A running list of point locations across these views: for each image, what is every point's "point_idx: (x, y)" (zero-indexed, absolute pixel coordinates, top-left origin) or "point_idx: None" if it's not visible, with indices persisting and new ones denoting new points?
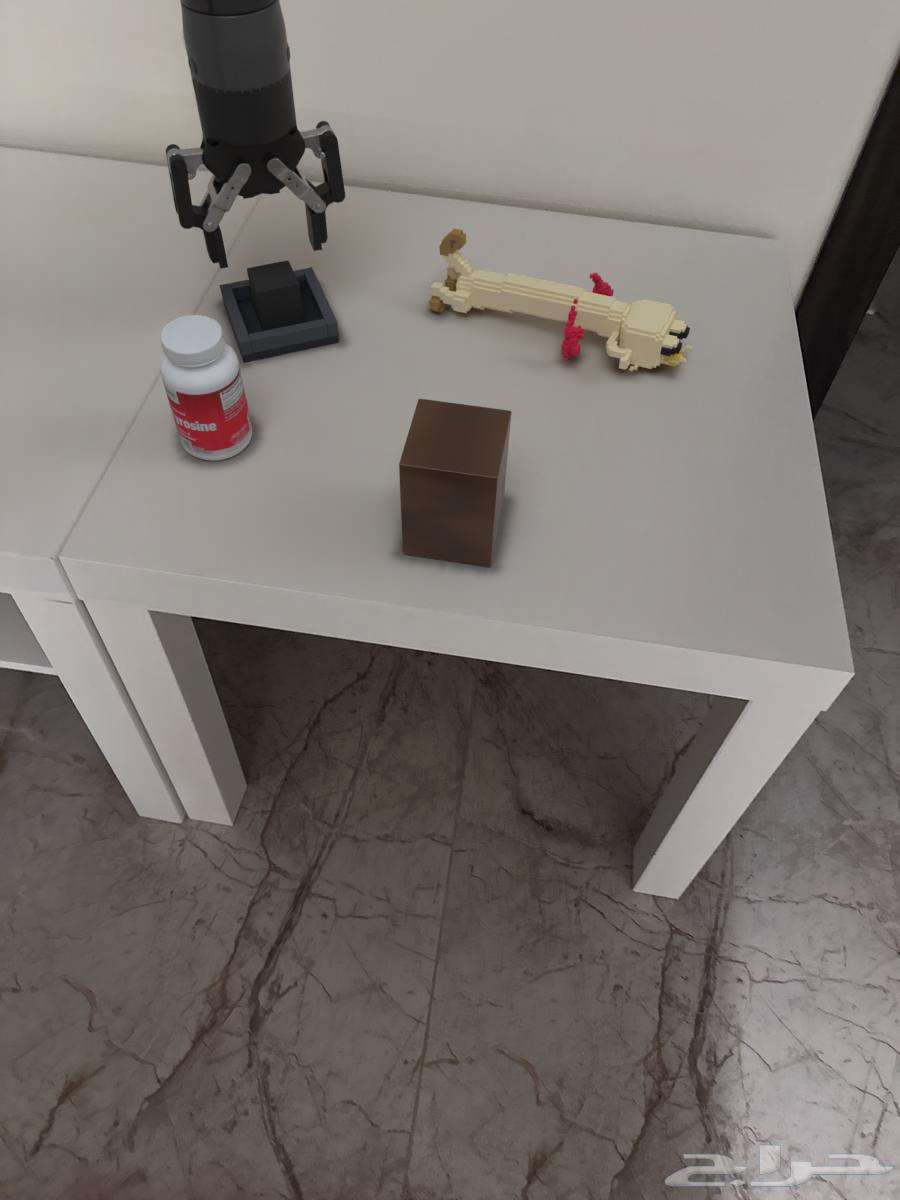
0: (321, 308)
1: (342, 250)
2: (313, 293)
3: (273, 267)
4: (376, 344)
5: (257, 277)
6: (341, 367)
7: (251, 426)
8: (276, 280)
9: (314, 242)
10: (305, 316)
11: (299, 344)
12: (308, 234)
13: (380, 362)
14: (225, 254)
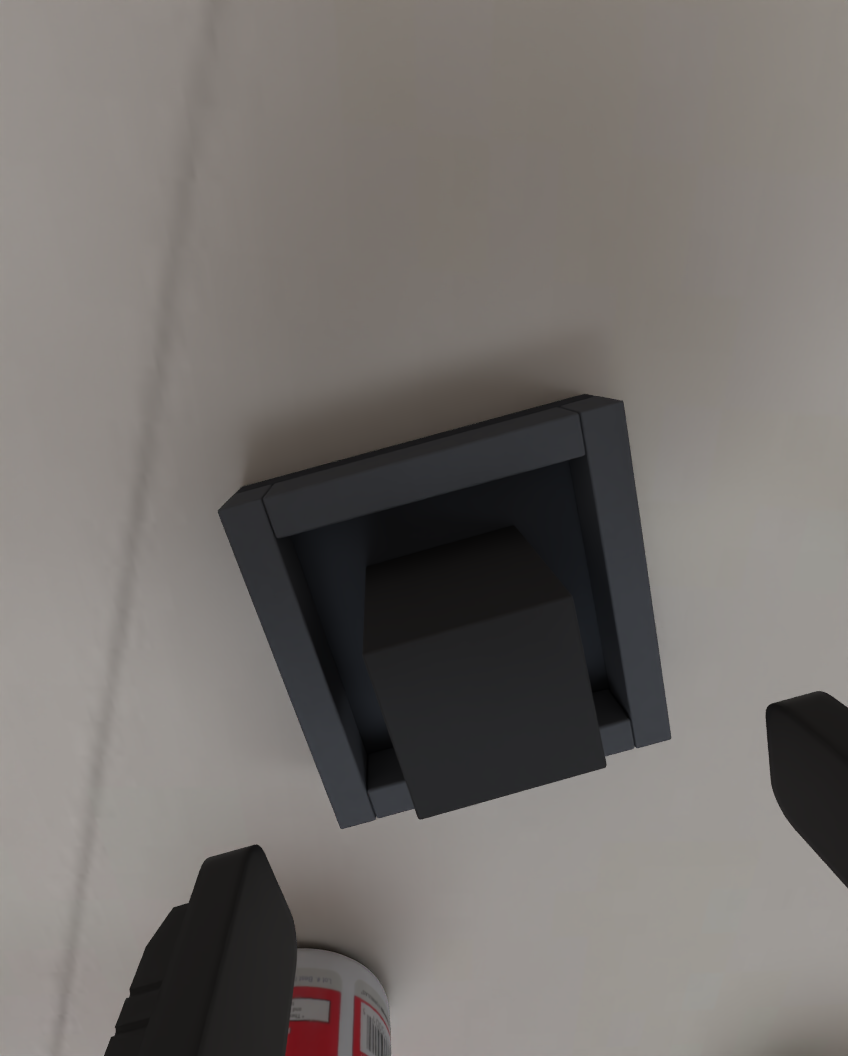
0: (628, 669)
1: (734, 115)
2: (610, 585)
3: (496, 652)
4: (739, 698)
5: (420, 726)
6: (625, 785)
7: (390, 1030)
8: (508, 745)
9: (826, 859)
10: None
11: None
12: (793, 722)
13: (733, 767)
14: (284, 1039)
